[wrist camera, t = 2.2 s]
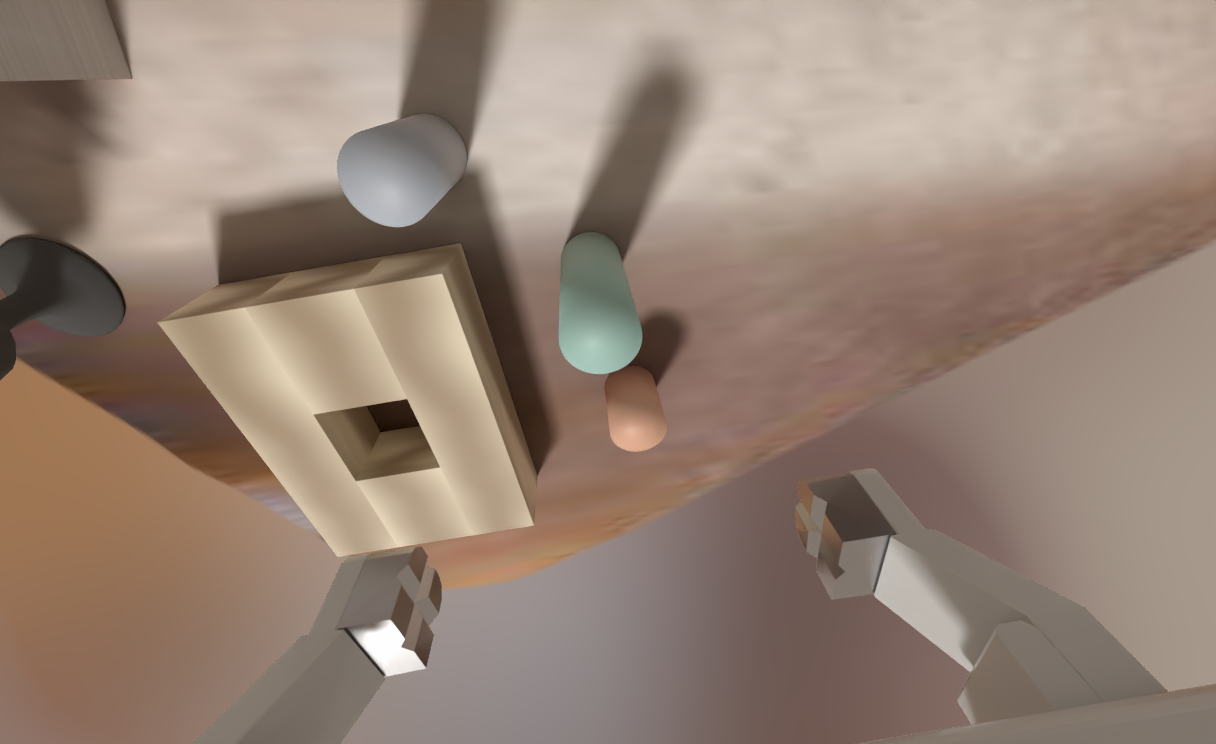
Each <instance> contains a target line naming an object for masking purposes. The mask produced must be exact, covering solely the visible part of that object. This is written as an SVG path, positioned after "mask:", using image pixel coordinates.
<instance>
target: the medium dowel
mask: <svg viewBox="0 0 1216 744" xmlns="http://www.w3.org/2000/svg"><path fill="white" fill-rule="evenodd" d="M466 164H467V152H466V148H465V145H464V142H463V140H462V138H461V136H460V134H459V133H458V132H457V130H456V129H455V128H454V127H453V126H452V125H451V124H450V123H449V122H447V121H446V120H444V119H443V118H441V117H439V116H436V115H433V114H425V113H423V114H416V115H413V116H409V117H406V118H403V119H400V120H396V121H393V122H390V123H386V124H383V125H380V126H377V127H373V128H370V129H367V130H364V131H361V132H358V133H356V134H354V135H353V136H351V137H350V138H349V139H348V140H347V141H346V142H345V143H344V145H343V146H342V148H341V150H340V153H339V156H338V161H337V172H338V178H339V182H340V185H341V187H342V190H343V192H344V194H345V195H346V197H347V198H348V200H349V201H350V203H351V204H352V205H353V206H354V207H355V208H356V209H357V210H358V211H359V212H360V213H361V214H363V215H364V216H365V217H367V218H368V219H370V220H372V221H374V222H376V223H379V224H381V225H385V226H390V227H405V226H409V225H412V224H414V223H416V222H418V221H420V220H421V219H422V218H423V217H424V216H425V215H426V214H427V213H428V212H429V211H430V210H431V209H432V208H433V207H434V206H435V205H436V204H437V203H438V202H439V201H440V200H441V199H442V198H443V197H444V196H445V194H446V193H447V192H448V191H449V190H450V189H451V188H452V187H453V186H454V185H455V184H456V183H457V182H458V181H459V180H460V179H461V177H462V176H463V174H464V172H465V169H466Z"/></svg>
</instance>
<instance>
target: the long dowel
mask: <svg viewBox="0 0 1216 744" xmlns="http://www.w3.org/2000/svg"><path fill="white" fill-rule="evenodd" d="M641 344H642V328H641V325H640V321H639V318H638V314H637V311H636V307H635V304H634V300H633V297H632V294H631V290H630V287H629V283H628V280H627V276H626V273H625V270H624V266H623V263H622V259H621V256H620V252H619V250H618V248H617V246H616V244H615V243H614V242H613V241H612V240H611V239H610V238H609V237H607V236H606V235H604V234H601V233H598V232H584V233H581V234H578V235H576V236H574V237H573V238H572V239H571V240H570V241H568V243H567V244H566V245H565V247H564V249H563V251H562V255H561V275H560V312H559V345H560V349H561V351H562V353H563V355H564V357H565V358H566V359H567V361H568V362H569V363H570V364H572V365H573V366H574V367H576V368H577V369H579V370H581V371H584V372H587V373H592V374H606V373H611V372H614V371H617V370H619V369H622V368H623V367H625V366H626V365H628V364H629V363H630V362H631V361H632V360H633V359H634V358H635V356H636V355H637V353H638V352H639V350H640V347H641Z"/></svg>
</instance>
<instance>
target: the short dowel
mask: <svg viewBox="0 0 1216 744" xmlns="http://www.w3.org/2000/svg"><path fill="white" fill-rule="evenodd" d="M605 395H606V403H607V411H608V420H609V428H610V435H611V438H612V440H613V442H614V443H615V444H616V445H617V446H618V447H620V448H622V449H624V450H628V451H644V450H647V449H650V448H652V447H654V446H656V445H657V444H658V443H659V442H660V441H661V440H662V439H663V438H664V436H665V434H666V430H667V424H666V420H665V416H664V413H663V409H662V406H661V402H660V399H659V395H658V392H657V388H656V385H655V381H654V378H653V376H652V374H651V373H650V372H649V371H648V370H646V369H645V368H643V367H640V366H635V365H628V366H625V367H623V368H622V369H619V370H617V371H614V372H612V373H611V374H610V375H609V376H608V378H607V380H606V382H605Z"/></svg>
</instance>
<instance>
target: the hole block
mask: <svg viewBox="0 0 1216 744" xmlns="http://www.w3.org/2000/svg"><path fill="white" fill-rule="evenodd" d="M157 323H158V324H159V325H160V326H161V328H162V329H163V330H164V332H165V333H166V334H167V336H168V337H169V338H170V339H171V341H172V342H173V343H174V345H175V346H176V347H177V349H178V350H179V351H180V352H181V354H182V355H183V356H184V358H185V359H186V360H187V362H188V363H189V364H190V365H191V367H192V368H193V369H194V371H195V372H196V373H197V375H198V376H199V377H200V378H201V380H202V381H203V382H204V384H205V385H206V386H207V388H208V389H209V390H210V391H211V393H212V394H213V395H214V397H215V398H216V399H217V401H218V402H219V403H220V404H221V406H222V407H223V408H224V410H225V411H226V412H227V414H228V415H229V416H230V417H231V419H232V420H233V421H234V423H235V424H236V425H237V427H238V428H239V429H240V430H241V432H242V433H243V434H244V436H245V437H246V438H247V440H248V441H249V442H250V443H251V445H252V446H253V447H254V449H255V450H256V451H257V453H258V454H259V455H260V456H261V458H262V459H263V460H264V462H265V463H266V464H267V465H268V467H269V468H270V469H271V471H272V472H273V473H274V475H275V476H276V477H277V478H278V480H279V481H280V482H281V484H282V485H283V486H284V488H285V489H286V490H287V491H288V493H289V494H290V495H291V497H292V498H293V499H294V501H295V502H296V503H297V504H298V506H299V507H300V508H301V510H302V511H303V512H304V514H305V515H306V516H307V517H308V519H309V520H310V521H311V523H312V524H313V525H314V527H315V528H316V529H317V530H318V532H319V533H320V534H321V536H322V537H323V538H324V540H325V541H326V542H327V543H328V545H329V546H330V547H331V549H332V550H333V551H334V553H335V554H336V555H337V556H338V557H340V556H346V555H353V554H359V553H365V552H371V551H377V550H384V549H390V548H396V547H402V546H409V545H415V544H421V543H427V542H433V541H440V540H446V539H452V538H458V537H465V536H471V535H477V534H483V533H489V532H496V531H502V530H508V529H514V528H521V527H527V526H533V525H534V518H535V504H536V490H537V473H536V470H535V467H534V464H533V461H532V458H531V455H530V452H529V449H528V446H527V443H526V440H525V437H524V434H523V431H522V428H521V425H520V422H519V419H518V416H517V413H516V410H515V407H514V403H513V400H512V397H511V394H510V391H509V388H508V385H507V382H506V379H505V376H504V373H503V370H502V367H501V364H500V361H499V358H498V355H497V352H496V349H495V346H494V343H493V340H492V337H491V333H490V330H489V327H488V324H487V321H486V318H485V315H484V312H483V309H482V306H481V303H480V300H479V297H478V294H477V291H476V288H475V285H474V282H473V279H472V276H471V273H470V270H469V267H468V263H467V260H466V257H465V254H464V251H463V248H462V245H461V243H459V244H453V245H447V246H441V247H435V248H429V249H424V250H418V251H412V252H406V253H400V254H395V255H389V256H383V257H377V258H371V259H366V260H360V261H354V262H348V263H342V264H337V265H331V266H325V267H319V268H313V269H307V270H302V271H296V272H290V273H284V274H278V275H273V276H267V277H261V278H255V279H249V280H244V281H238V282H232V283H226V284H220V285H217V286H215V287H214V288H212V289H211V290H209V291H207V292H206V293H204V294H203V295H201V296H199V297H198V298H196V299H194V300H193V301H191V302H190V303H188V304H186V305H185V306H183V307H182V308H180V309H178V310H177V311H175V312H174V313H172V314H170V315H169V316H167V317H165V318H164V319H162V320H161V321H159V322H157ZM404 399H407V400H408V402H409V404H410V406H411V408H412V410H413V412H414V414H415V416H416V418H417V420H418V422H419V424H420V426H416V427H410V428H404V429H398V430H392V431H386V432H380V430H379V428H378V426H377V425H376V423H375V421H374V419H373V417H372V416H371V414H370V412H369V410H368V408H367V406H368V405H374V404H380V403H386V402H392V401H398V400H404Z"/></svg>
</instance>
